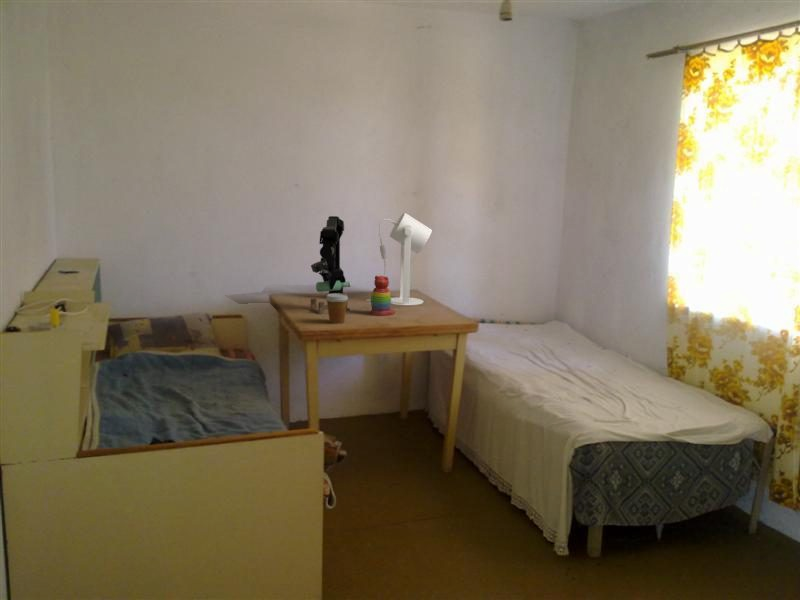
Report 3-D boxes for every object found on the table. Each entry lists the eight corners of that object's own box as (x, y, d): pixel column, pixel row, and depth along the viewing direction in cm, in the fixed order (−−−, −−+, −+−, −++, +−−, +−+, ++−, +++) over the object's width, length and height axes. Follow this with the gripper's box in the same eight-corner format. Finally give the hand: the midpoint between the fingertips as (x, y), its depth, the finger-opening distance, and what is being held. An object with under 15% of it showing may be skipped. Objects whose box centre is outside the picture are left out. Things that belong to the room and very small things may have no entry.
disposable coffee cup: (326, 319, 289) (326, 293, 286) (347, 319, 290) (348, 293, 287) (325, 324, 279) (325, 297, 277) (347, 324, 280) (348, 297, 278)
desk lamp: (432, 305, 323) (435, 214, 314) (367, 305, 320) (368, 213, 311) (426, 297, 343) (429, 211, 335) (366, 297, 341) (367, 210, 332)
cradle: (338, 306, 318) (338, 296, 317) (349, 310, 308) (350, 300, 307) (308, 309, 309) (308, 298, 308) (319, 314, 299) (319, 303, 298)
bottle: (320, 292, 302) (319, 282, 301) (316, 291, 306) (315, 282, 305) (352, 289, 311) (351, 279, 310) (348, 288, 314) (347, 279, 314)
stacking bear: (396, 312, 305) (397, 275, 302) (386, 317, 296) (387, 278, 293) (375, 310, 310) (376, 273, 306) (365, 314, 301) (366, 276, 297)
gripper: (304, 254, 307) (304, 286, 310) (322, 259, 292) (322, 293, 295) (326, 252, 313) (326, 284, 316) (344, 257, 297) (344, 291, 301)
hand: (328, 288), depth 307 cm, fingers closed on bottle, 4 cm apart
